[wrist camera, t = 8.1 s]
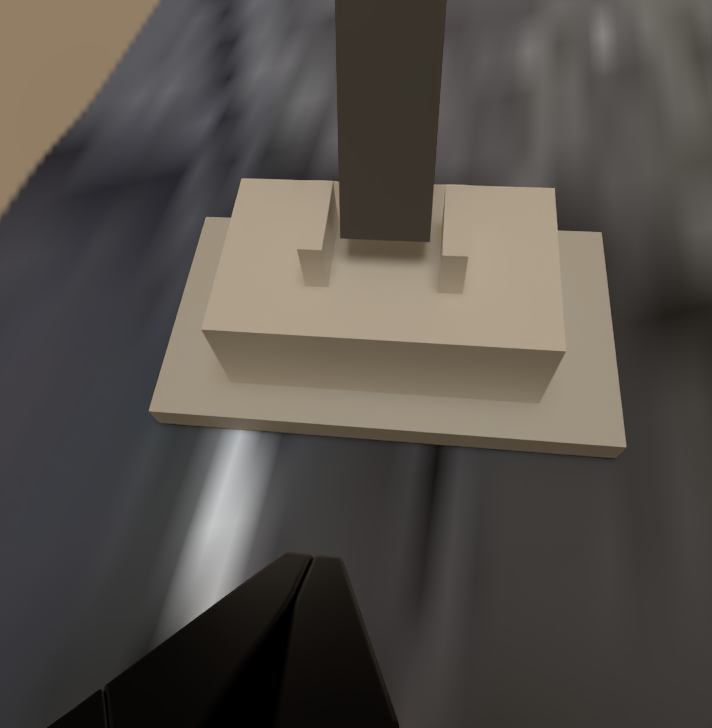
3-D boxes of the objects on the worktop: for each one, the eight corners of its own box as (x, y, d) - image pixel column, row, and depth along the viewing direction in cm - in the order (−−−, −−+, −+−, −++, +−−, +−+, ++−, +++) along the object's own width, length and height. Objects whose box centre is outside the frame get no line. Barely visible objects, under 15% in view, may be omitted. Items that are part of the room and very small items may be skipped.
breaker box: (615, 458, 22) (702, 369, 16) (159, 422, 24) (74, 331, 18) (593, 249, 27) (654, 116, 20) (212, 233, 29) (160, 107, 22)
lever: (441, 246, 19) (477, -187, 13) (326, 241, 19) (311, -181, 14) (442, 224, 21) (473, -169, 15) (336, 220, 21) (326, -165, 15)
